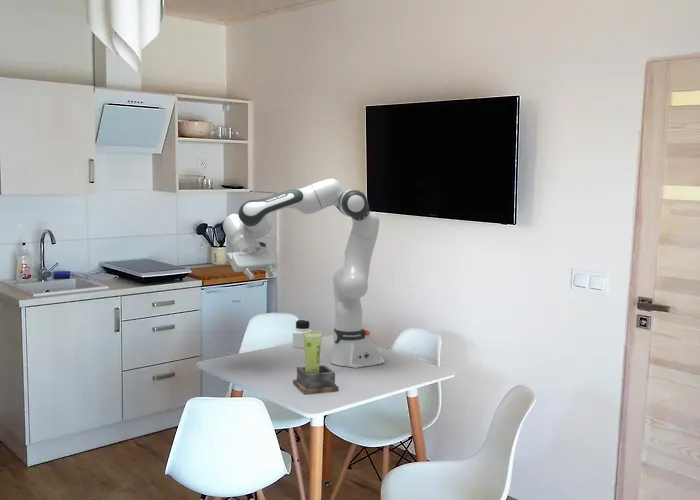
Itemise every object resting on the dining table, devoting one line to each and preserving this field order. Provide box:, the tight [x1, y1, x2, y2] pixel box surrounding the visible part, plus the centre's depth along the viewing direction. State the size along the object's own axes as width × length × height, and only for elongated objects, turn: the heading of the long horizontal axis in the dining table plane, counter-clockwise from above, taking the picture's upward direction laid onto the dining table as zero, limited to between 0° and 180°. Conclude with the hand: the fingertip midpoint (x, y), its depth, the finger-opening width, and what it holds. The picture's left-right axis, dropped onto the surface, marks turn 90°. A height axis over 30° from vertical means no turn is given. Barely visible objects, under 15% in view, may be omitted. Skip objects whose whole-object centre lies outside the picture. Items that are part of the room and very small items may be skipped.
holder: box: [292, 364, 339, 395], centre depth 249 cm, size 13×13×6 cm
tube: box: [303, 330, 323, 374], centre depth 247 cm, size 6×5×20 cm
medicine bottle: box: [292, 319, 313, 349], centre depth 307 cm, size 7×7×12 cm
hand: (262, 277), depth 263 cm, fingers open, 8 cm apart
